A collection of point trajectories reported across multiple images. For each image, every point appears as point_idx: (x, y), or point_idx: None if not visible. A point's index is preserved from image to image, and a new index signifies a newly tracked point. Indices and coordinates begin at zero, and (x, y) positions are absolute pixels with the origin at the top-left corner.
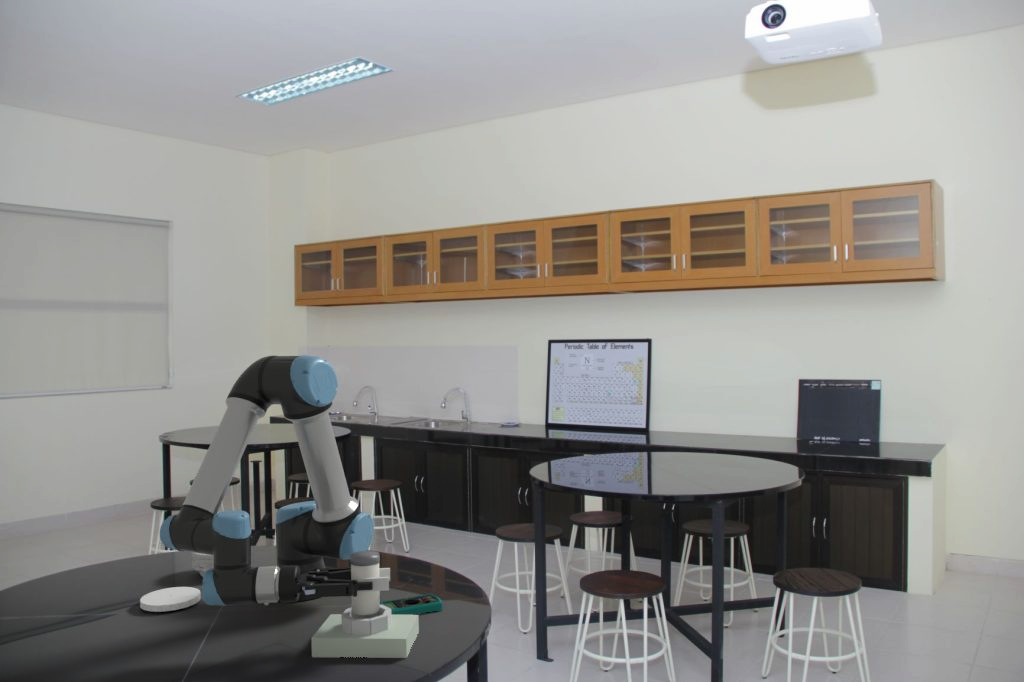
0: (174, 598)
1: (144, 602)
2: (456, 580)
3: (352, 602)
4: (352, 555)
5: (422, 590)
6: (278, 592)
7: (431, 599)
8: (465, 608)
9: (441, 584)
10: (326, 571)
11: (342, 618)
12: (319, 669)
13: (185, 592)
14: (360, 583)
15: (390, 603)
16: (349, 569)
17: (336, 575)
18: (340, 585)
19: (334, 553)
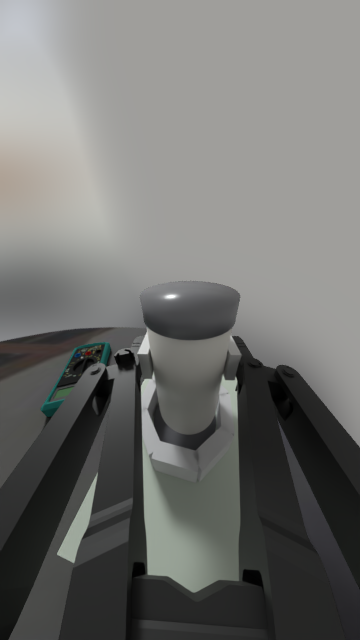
0: None
1: None
2: (39, 336)
3: (204, 417)
4: (195, 307)
5: (30, 361)
6: None
7: (92, 348)
8: (118, 335)
9: (34, 346)
10: (117, 552)
11: (204, 469)
12: (332, 574)
13: None
14: (248, 354)
15: (59, 391)
16: (96, 389)
17: (137, 452)
18: (322, 407)
19: None
